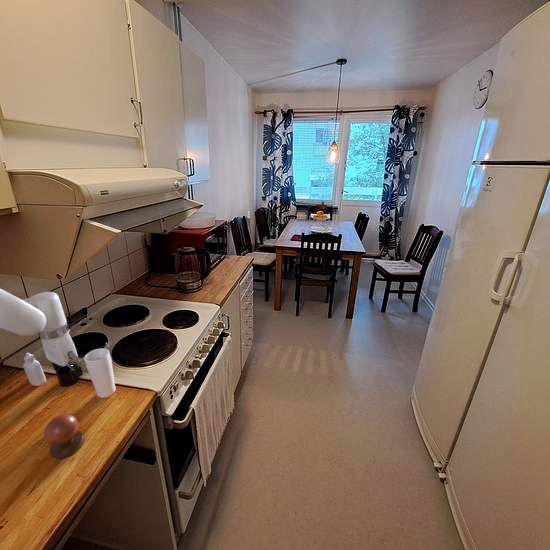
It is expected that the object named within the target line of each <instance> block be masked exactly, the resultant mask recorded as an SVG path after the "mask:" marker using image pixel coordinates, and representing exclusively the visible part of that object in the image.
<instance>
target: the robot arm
mask: <svg viewBox="0 0 550 550" xmlns="http://www.w3.org/2000/svg"><path fill="white" fill-rule="evenodd" d="M0 329H1V330H5V331H8V332H11V333H12V334H16V335H18V336H21V337H30V336H35V335H37V334H38V336H39V338H40V340H41V345H42V348H43V353H44V355H45V357H46V360H48V361H49V362H51V365H52V368H53V370H54V371H55V372H56V371H57V370H58V369H59V368H60V367H62V366H66V365H67V366H68V367H69V368H70V369H71V370H70V374H71V376H72V379H73V380H76V379H77V378H79V377H80V378H81V377H82V376H83V375H84V372H83V368H82V360H81V358H80V357H79V354H78V351H77V348H76V346H75V343H74V341H73V339H72V337H71V335H70V327H69V323H68V321H67V318H66V315H65V311H64V308H63V305H62V302H61V300H60V296H59V295H58V294H57V293H56V292H54V291H44V292H40V293H36V294H34V295H32V296H31V297H28V298H23V299H21V298H20V297H17V296H15V295H14V294H12V293H10V292H8V291H6V290H5V289H2V288H0ZM73 362H74V363H73ZM72 363H73V364H74V365H73V366H72V365H71V364H72Z"/></svg>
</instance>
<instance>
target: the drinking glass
mask: <svg viewBox="0 0 550 550" xmlns="http://www.w3.org/2000/svg"><path fill="white" fill-rule="evenodd" d="M83 360H84V364H85V368H86V371H87V373H88V376H89V378H90V380H91V383H92V386H93V388H94V390H95V392H96V396H97V397H98V398H101V399H105V398H109V397H110V396H112V395H113V394H114V393H115V392H116V389H117V387H116V384H115V375H114V365H113V360H112V356H111V354H110V350H109V349H107V348H102V347H101V348H96V349H93V350H90V351H89V352H87V353H86V354H85V355H84V357H83Z"/></svg>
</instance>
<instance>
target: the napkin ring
mask: <svg viewBox="0 0 550 550" xmlns="http://www.w3.org/2000/svg"><path fill="white" fill-rule="evenodd" d="M70 364H71V365H72V366H73V365H74V364H75V363H70ZM70 370H71V369H70V368H69V367H68V366H67V365H66V366H62V367H60V368H59V369H58V370H57V371H55V375H56V378H57V381H58V384H59V386H60V387H62V388H69V387H72V386H74V385H75V384H77V383H78V382H79V381H80V379H81V376H80V377H79V378H77V379H76V380H73V379H72V376H71V374H70Z"/></svg>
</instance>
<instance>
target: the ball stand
mask: <svg viewBox="0 0 550 550" xmlns="http://www.w3.org/2000/svg"><path fill="white" fill-rule="evenodd" d="M43 435H44V440H45V441H46V442H47V443H48V444H50V446H49V454H50V456H51V457H52V458H53V459H54V460H64V459H67V458H69V457H71V456H73V455H75V454H76V453H78V451H79V450H80V449H81V448H82V447H83V445H84V442H85V437H84V435H83V433H82V431H80V430H79V421H78V419H77V417H75V416H74V415H72V414H68V413H63V414H60V415H57V416H55V417H54V418H52V419H51V420H50V421H49V422H48V423H47V425H46V426H45V429H44V434H43Z"/></svg>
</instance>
